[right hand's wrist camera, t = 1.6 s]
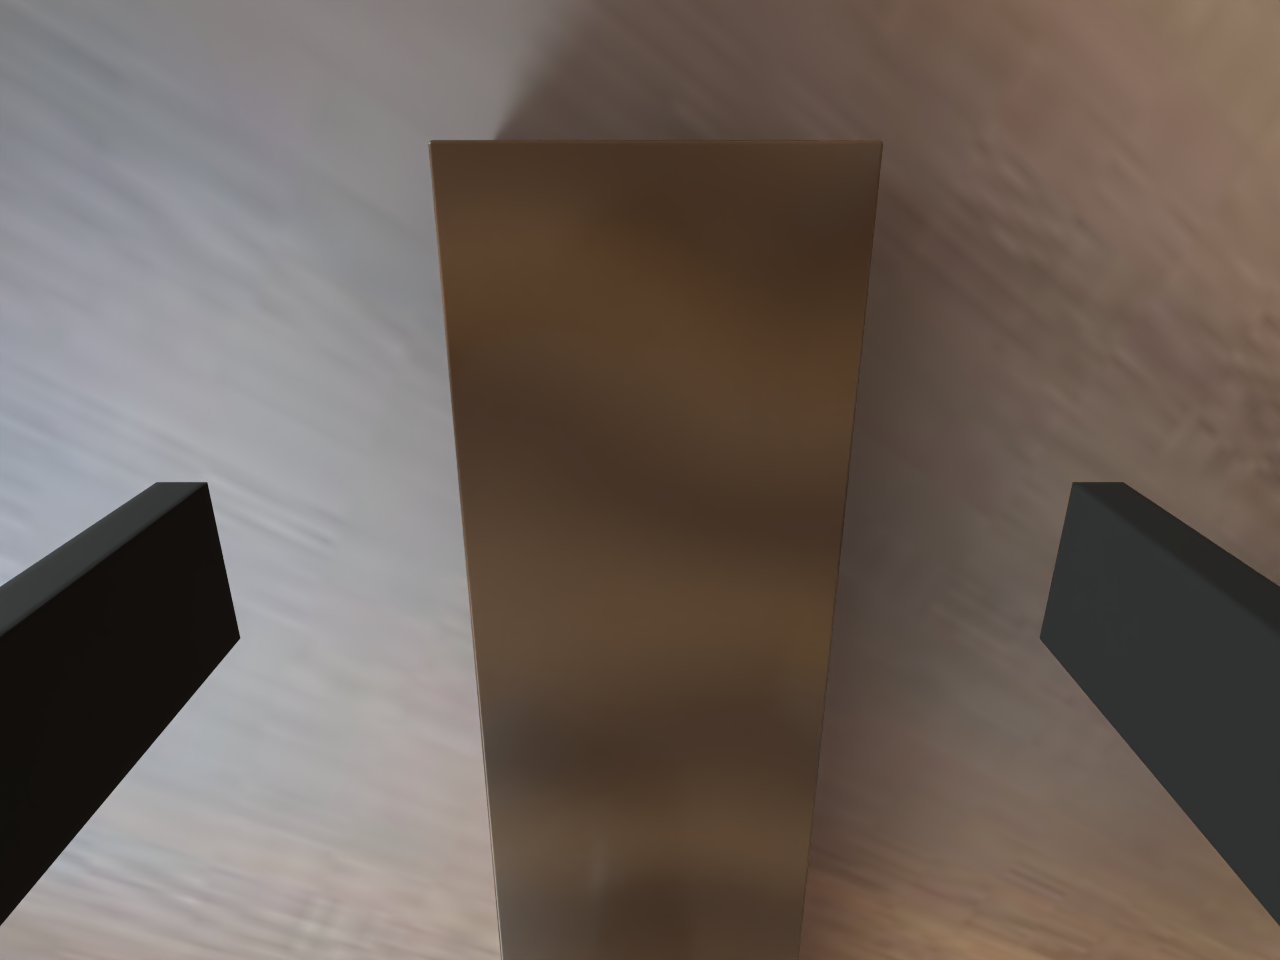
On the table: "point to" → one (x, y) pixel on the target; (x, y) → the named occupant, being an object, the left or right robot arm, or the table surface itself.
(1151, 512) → the right robot arm
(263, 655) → the table surface
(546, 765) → the brown wooden beam
